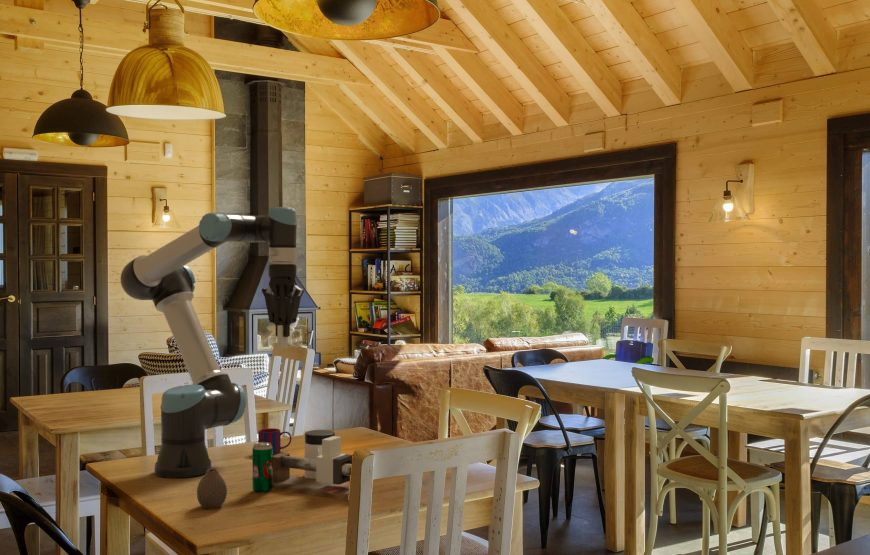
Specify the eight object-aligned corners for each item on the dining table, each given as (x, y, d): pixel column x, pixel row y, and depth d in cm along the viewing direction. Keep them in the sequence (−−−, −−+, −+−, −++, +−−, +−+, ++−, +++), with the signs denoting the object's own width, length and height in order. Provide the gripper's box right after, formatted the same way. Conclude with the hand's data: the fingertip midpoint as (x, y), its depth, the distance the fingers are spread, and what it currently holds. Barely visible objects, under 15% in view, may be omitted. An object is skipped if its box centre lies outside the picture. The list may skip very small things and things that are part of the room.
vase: (199, 512, 198) (199, 474, 197) (195, 504, 204) (194, 468, 204) (229, 508, 200) (229, 471, 200) (224, 501, 207) (224, 465, 207)
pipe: (277, 468, 222) (277, 456, 222) (284, 465, 225) (284, 453, 225) (354, 478, 211) (354, 466, 211) (361, 476, 214) (361, 463, 214)
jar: (311, 481, 226) (311, 436, 225) (298, 475, 232) (298, 431, 232) (341, 477, 230) (341, 433, 230) (328, 471, 237) (328, 428, 237)
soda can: (250, 489, 218) (250, 442, 218) (270, 487, 220) (270, 441, 220) (254, 494, 213) (254, 446, 213) (274, 492, 215) (274, 445, 215)
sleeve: (316, 481, 215) (316, 439, 214) (330, 476, 220) (330, 435, 220) (333, 483, 212) (333, 441, 212) (346, 478, 218) (346, 437, 218)
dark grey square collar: (332, 483, 212) (333, 459, 212) (346, 478, 218) (346, 454, 218) (339, 484, 211) (339, 459, 211) (353, 479, 217) (353, 454, 217)
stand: (265, 487, 219) (265, 458, 219) (289, 479, 228) (289, 451, 228) (350, 500, 208) (350, 469, 208) (372, 490, 217) (372, 461, 216)
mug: (260, 450, 264) (260, 428, 264) (292, 450, 264) (292, 428, 264) (256, 454, 257) (256, 432, 257) (289, 454, 258) (289, 432, 257)
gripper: (255, 263, 234) (255, 348, 235) (293, 263, 228) (293, 351, 229) (272, 263, 241) (272, 346, 241) (310, 263, 235) (309, 348, 235)
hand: (282, 348), depth 235 cm, fingers closed
